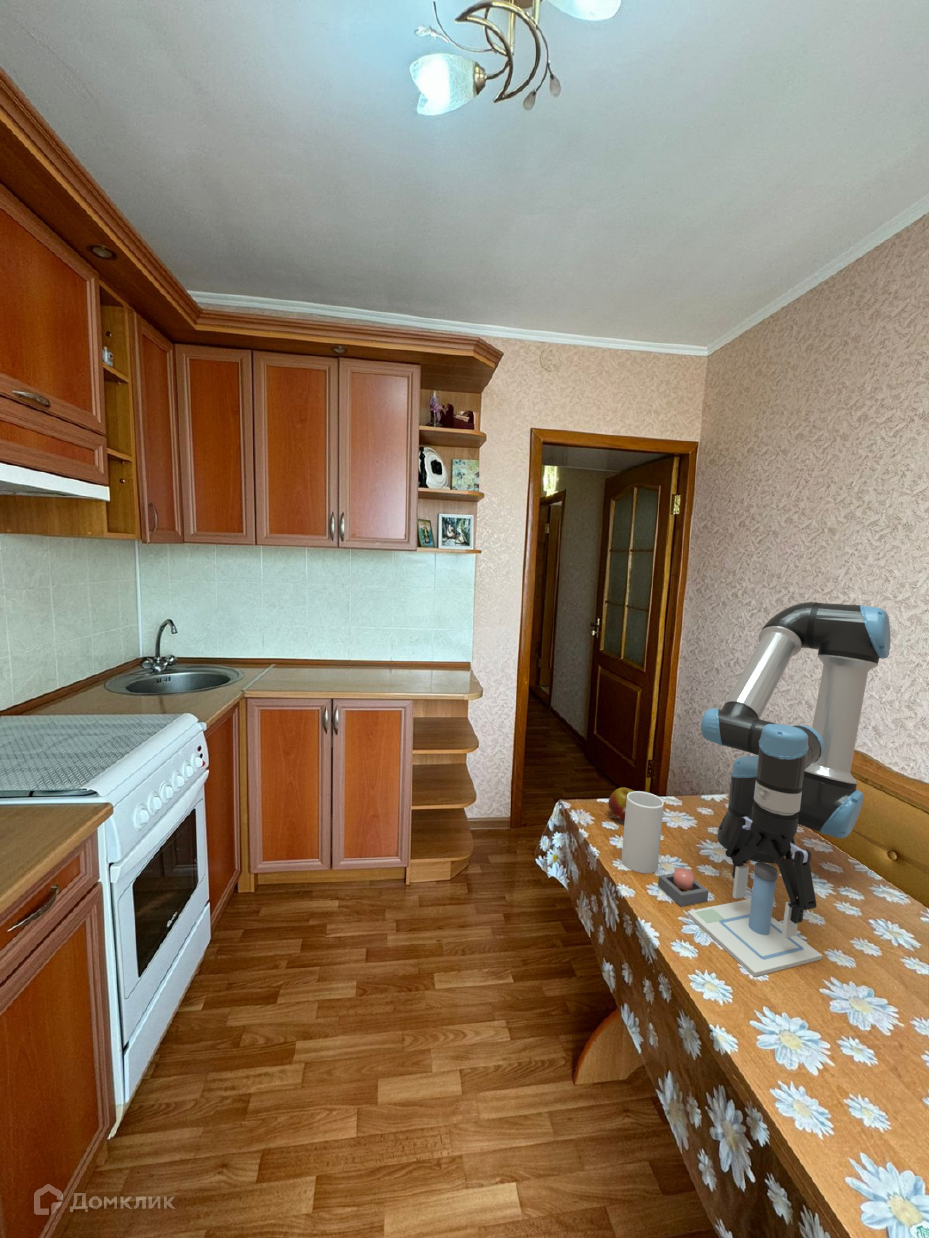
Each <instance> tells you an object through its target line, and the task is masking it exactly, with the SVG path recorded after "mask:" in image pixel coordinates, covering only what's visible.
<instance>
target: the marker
mask: <svg viewBox="0 0 929 1238" xmlns="http://www.w3.org/2000/svg"><path fill="white" fill-rule="evenodd" d="M778 870H779V869H777V867H775V866H773V865H772V864H769V863H768V862H761V861H756V862H755V864H754V870H753V873H754V875H753V884H752V890H751V891H752V892H751V899H750V901H751V907H750V915H749V924H748V926H749V928H750V929H751V930H753V931H754V932H756V933H758V934H761V935H768V934H769V933H770V925H771V917H772V916H773V909H774V900H775V892H776V884H777V880H778V872H779V871H778Z"/></svg>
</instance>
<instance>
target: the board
mask: <svg viewBox="0 0 929 1238" xmlns="http://www.w3.org/2000/svg"><path fill="white" fill-rule="evenodd" d="M750 907H751V899H742V900H738V901H733V902H732V901H731V902H728V903H722V904H718V905H717V904H716V905H712V906H708V907H702V908H698V909H692V910H688V911H687V914H686V915H687V917H688V918H690V919H691V920H692V921H693V922H694V923H695V924H697V926H698V927H700V929H702V931H704V932H705V933H706V934H707V935H709V937H710V938H711V939H712V940H714V941H715V942H716V943H717V944H718V945H719V946H720V947H721V948H722V949H724V950H725V951H726V952H727V954H729V956H731V957H732V958H733V959H734V960H736V962H738V963H739V965H740V966H742V967H743V969H745V970H746V971H747V972H748V973H750V974H751V976H753V977H754V978H756V977H760V976H763V975H768V974H772V973H776V972H779V971H782V970H787V969H791V968H794V967H798V966H801V965H805V964H809V963H813V962H817V961H821V960H823V955H822V954H821V953H820V952H818V950H817V949H815V948H814V947H812V946H811V945H810V944H808V943H807V942H806V941H805V940H803V939H801V938H800V937H799V936H798V935H796V936H792V937H788V938H785V937H784V936H782V929H783V923H781V922H779V921H778V920H777V919H775V918H774V917H771V925H770V933H769V934H768V935H761V934H758V933H756V932H754V931H753V930H751V929H750V928H749V926H748V924H749V915H750Z"/></svg>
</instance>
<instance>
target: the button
mask: <svg viewBox="0 0 929 1238" xmlns="http://www.w3.org/2000/svg"><path fill="white" fill-rule="evenodd" d="M673 873H674V878H673V883H674V884H675V885H676V887H677V888H678V889H682V890H685V891H690V890H691V889H692V888H693V884H694V879H695V873H694V872H693V871H691V870H690V869H688V868H684V867H675V868H674V870H673Z"/></svg>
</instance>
